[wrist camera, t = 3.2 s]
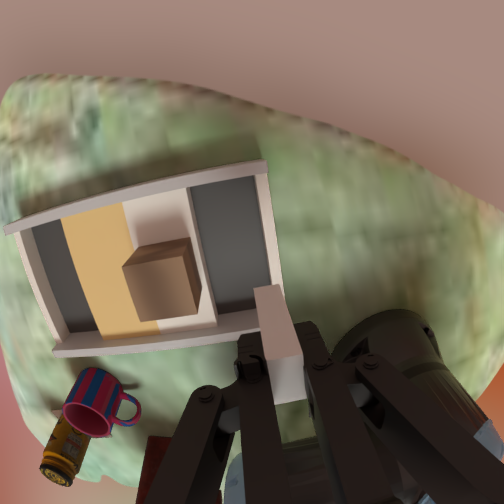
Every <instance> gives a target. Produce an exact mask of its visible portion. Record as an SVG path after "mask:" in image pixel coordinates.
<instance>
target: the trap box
mask: <svg viewBox="0 0 504 504" xmlns="http://www.w3.org/2000/svg"><path fill="white" fill-rule="evenodd" d="M267 173H269V172H268V166H267V161H266V160H264V159H257V160H251V161H245V162H239V163H233V164H228V165H222V166H217V167H211V168H206V169H201V170H196V171H191V172H186V173H182V174H177V175H172V176H168V177H163V178H159V179H155V180H150V181H146V182H142V183H138V184H134V185H130V186H126V187H122V188H118V189H114V190H111V191H107V192H103V193H100V194H96V195H92V196H89V197H85V198H82V199H79V200H75V201H72V202H68V203H65V204H62V205H59V206H56V207H52V208H49V209H46V210H43V211H40V212H37V213H34V214H31V215H28V216H25V217H23V218H20V219H18V220H16V221H14V222H12V223H9V224H7V225H5V226H3V229H4V233H5V236H6V235H9V234H12V233H14V236H15V240H16V243H17V246H18V249H19V253H20V256H21V259H22V262H23V265H24V268H25V270H26V273H27V276H28V279H29V281H30V284H31V287H32V289H33V292H34V294H35V297H36V299H37V302H38V304H39V306H40V309H41V311H42V313H43V316H44V318H45V320H46V322H47V325H48V327H49V329H50V331H51V333H52V335H53V337H54V339H55V342H56V345H55V347H54V348H53V349H52V353H53V355H54V357H55V358H62V357H85V356H102V355H116V354H129V353H140V352H150V351H160V350H169V349H178V348H186V347H194V346H201V345H208V344H215V343H222V342H229V341H235V340H238V339H239V337H240V335H241V334H246V333H251V332H257V331H260V325H259V319H258V313H257V307H256V301H255V295H254V289H253V288H258V287H263V286H269V285H274V284H279V285H280V288H281V291H282V294H283V297H284V299H285V296H284V288H283V281H282V273H281V266H280V259H279V252H278V245H277V238H276V231H275V224H274V217H273V210H272V204H271V197H270V191H269V184H268V178H267ZM187 237H191V242H192V246H193V251H194V255H195V259H196V263H197V268H198V272H199V276H200V280H201V284H202V292H201V298H200V304H199V309H198V314H196V315H189V316H183V317H176V318H168V319H161V320H154V321H146V322H140V320H139V318H138V315H137V312H136V309H135V306H134V303H133V301H132V298H131V295H130V292H129V289H128V286H127V283H126V280H125V277H124V273H123V270H122V266H123V265H124V263H125V262H126V261H127V260H128V259H129V257H130V256H131V255H132V254H133V253H134V251H135V250H136V249H137V248H138V247H140V246H145V245H150V244H155V243H160V242H166V241H171V240H176V239H181V238H187Z"/></svg>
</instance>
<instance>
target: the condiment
mask: <svg viewBox="0 0 504 504" xmlns="http://www.w3.org/2000/svg"><path fill="white" fill-rule="evenodd" d="M52 412H53V414H54V415H55V416H56V417H57V418H58V419H59V420H58V422H57V424H56V426H55V428H54V430H53V433H52V434H51V436H50V439H49V441H48V443H47V445H46V447H45V449H44V452H43V457H44V458H43V460H42V463H41V465H40V468H39V469H40V471H41V473H42V474H43V475H44V476H45V477H46V478H48V479H49V480H51V481H52V482H54V483H56V484H59V485H62V486H66V487H69V486H71V485H72V483H73V479H74V478H75V475H76V474H78V473H79V471H80V468H81V465H82V462H83V459H84V456H85V453H86V451H87V448H88V445H89V442H90V439H91V438H102V437H93V436H89V435H87V434H84V433H82V432H80V431H79V430H77V429H76V428H74V427H73V426H72V425H71V424H70V423H69V422H68V421H67V420H66V419H65V417H64V415H63V413H62V409H61V410H52ZM105 437H107V438H108V437H112V436H111V435H110V434H109V435H108V436H105Z"/></svg>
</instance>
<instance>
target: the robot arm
mask: <svg viewBox="0 0 504 504" xmlns="http://www.w3.org/2000/svg"><path fill="white" fill-rule="evenodd" d="M253 289H254V295H255V301H256V307H257V313H258V319H259V325H260V331H257V332H251V333H246V334H241V335H240V337H239V339H238V341H237V344H238V358H237V359H236V361H235V362H234V369H235V373H236V376H237V380H236V381H235V382H234V383H233V384H231V385H230V386H228V387H225V388H223V389H219V388H218V387H216V386H212V385H205V386H202V387H199V388H197V389H196V390H195V391H194V392H193V393H192V394H191V396H190V398H189V401H188V403H187V405H186V408H185V410H184V412H183V414H182V417H181V419H180V421H179V424H178V426H177V428H176V430H175V433H174V435H173V437H172V439H171V442H170V444H169V446H168V448H167V451H166V453H165V455H164V458H163V460H162V462H161V464H160V467H159V469H158V471H157V473H156V476H155V478H154V480H153V483H152V485H151V487H150V489H149V492H148V494H147V496H146V498H145V501H144V503H143V504H215V503H216V499H217V496H218V492H219V489H220V485H221V482H222V478H223V475H224V471H225V468H226V464H227V460H228V457H229V453H230V450H231V446H232V442H233V439H234V435H235V431H238V430H240V432H241V447H242V453H240V454H238V455H237V456H236V457H235V458H234V459H233V460H232V462H231V464H230V466H229V469H228V472H227V476H226V482H225V491H224V504H504V464H503V463H502V462H501V460H502V458H503V455H504V443H503V441H502V439H501V438H500V436H499V434H498V433H497V431H496V429H495V428H494V426H493V424H492V420H491V419H488V417H486V415H485V414H484V412H483V411H482V410H481V409H480V407H479V406H478V405H477V404H476V402H475V401H474V400H473V399H472V397H471V396H470V395H469V394H468V393H467V391H466V390H465V389H464V388H463V386H462V385H461V384H460V383H459V382H458V380H457V379H456V378H455V377H454V376H453V374H452V373H451V372H450V371H449V370H448V368H447V367H446V366H445V365H444V362H443V359H442V356H441V353H440V350H439V347H438V344H437V341H436V338H435V335H434V332H433V331H432V329H431V327H430V326H429V325H428V324H427V323H426V322H425V321H424V320H423V319H422V318H421V317H420V316H419V315H418V314H416V313H414V312H412V311H408V310H401V309H400V310H389V311H385V312H381V313H379V314H376V315H374V316H371V317H369V318H368V319H366V320H364V321H363V322H361V323H359V324H358V325H357V326H355V327H354V328H353V329H352V330H351V331H349V332H348V333H347V334H346V335H345V336H344V337H343V339H342V340H341V341H340V342H339V344H338V345H337V346H336V348H335V350H334V351H333V353H332V355H331V356H330V355H329V352H328V350H327V348H326V346H325V343H324V341H323V339H322V337H321V335H320V333H319V330H318V328H317V326H316V325H315V324H314V323H312V322H311V321H307V322H302V323H297V324H293V323H292V320H291V317H290V314H289V311H288V308H287V305H286V302H285V299H284V297H283V294H282V291H281V288H280V285H279V284H274V285H269V286H263V287H258V288H253ZM306 394H307V396H306ZM307 397H308V405H309V417H312V421H313V424H314V428H315V431H316V435H317V436H313V437H309V438H305V439H301V440H296V441H291V442H287V443H281V437H280V432H279V426H278V421H277V415H276V410H275V405H277V404H282V403H288V402H293V401H298V400H303V399H307Z"/></svg>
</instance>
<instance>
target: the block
mask: <svg viewBox="0 0 504 504" xmlns="http://www.w3.org/2000/svg"><path fill="white" fill-rule="evenodd" d="M122 270H123V273H124V277H125V280H126V283H127V286H128V289H129V292H130V295H131V298H132V301H133V303H134V306H135V309H136V312H137V315H138V318H139V320H140V322H146V321H154V320H161V319H168V318H176V317H183V316H189V315H196V314H198V309H199V304H200V298H201V292H202V284H201V280H200V276H199V272H198V268H197V263H196V259H195V255H194V251H193V246H192V242H191V237H187V238H181V239H176V240H171V241H166V242H160V243H155V244H150V245H145V246H140V247H138V248H137V249H136V250H135V251H134V253H133V254H132V255H131V256H130V257H129V259H128V260H127V261H126V262H125V263H124V265H123V266H122Z"/></svg>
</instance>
